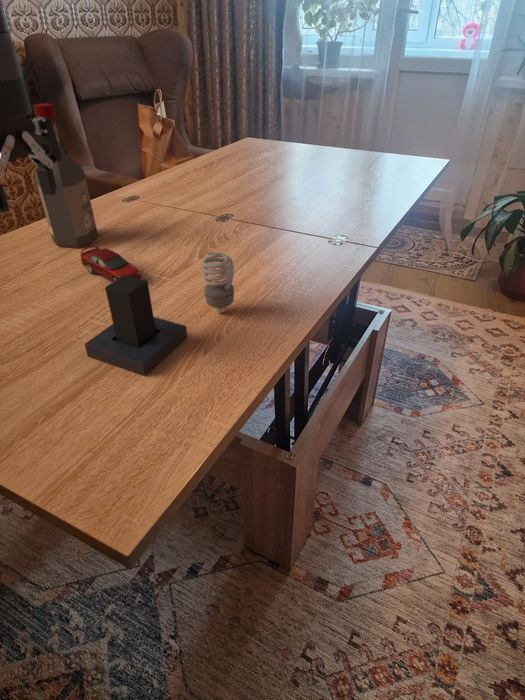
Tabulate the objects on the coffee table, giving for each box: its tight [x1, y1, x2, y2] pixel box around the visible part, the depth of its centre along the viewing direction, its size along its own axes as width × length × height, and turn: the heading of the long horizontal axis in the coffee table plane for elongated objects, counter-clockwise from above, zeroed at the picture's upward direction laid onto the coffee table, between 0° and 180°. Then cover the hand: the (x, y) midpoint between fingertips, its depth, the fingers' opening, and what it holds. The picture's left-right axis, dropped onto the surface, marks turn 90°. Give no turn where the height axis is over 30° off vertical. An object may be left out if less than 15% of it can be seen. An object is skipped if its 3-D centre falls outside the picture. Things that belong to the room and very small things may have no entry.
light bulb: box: [201, 251, 235, 314], centre depth 87 cm, size 6×6×12 cm
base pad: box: [84, 316, 188, 377], centre depth 81 cm, size 12×12×2 cm
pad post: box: [104, 275, 156, 349], centre depth 78 cm, size 5×5×12 cm
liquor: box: [32, 102, 99, 249], centre depth 109 cm, size 9×9×30 cm
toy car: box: [80, 245, 142, 283], centre depth 101 cm, size 6×15×5 cm, turn 47°
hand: (27, 202), depth 70 cm, fingers open, 8 cm apart
